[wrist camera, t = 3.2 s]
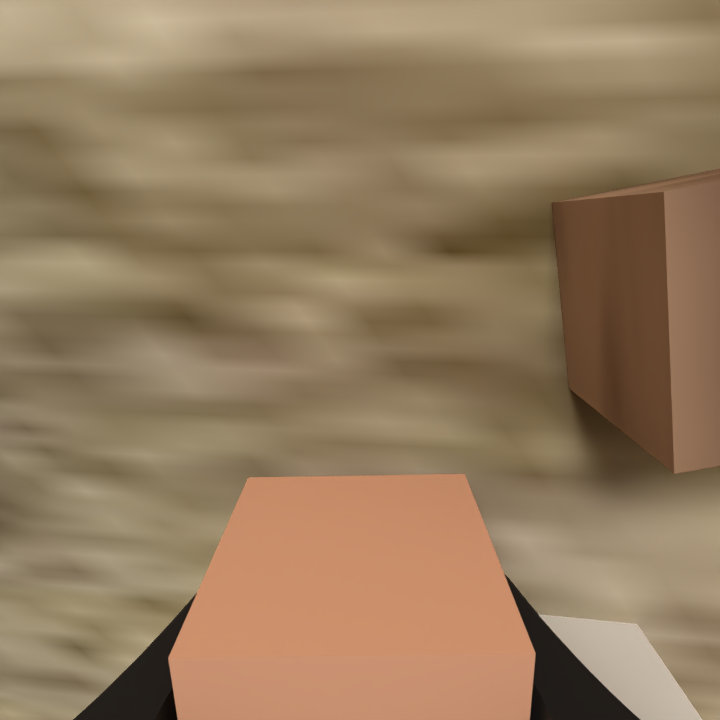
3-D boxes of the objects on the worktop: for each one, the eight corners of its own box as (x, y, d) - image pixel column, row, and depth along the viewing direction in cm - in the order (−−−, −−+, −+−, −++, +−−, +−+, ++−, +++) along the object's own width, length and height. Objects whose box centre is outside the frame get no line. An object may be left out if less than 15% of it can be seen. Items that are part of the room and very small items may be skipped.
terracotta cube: (464, 473, 12) (535, 653, 7) (457, 649, 13) (513, 902, 8) (248, 477, 12) (168, 658, 7) (263, 651, 13) (206, 904, 8)
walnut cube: (753, 161, 13) (997, 124, 8) (751, 353, 14) (960, 424, 9) (550, 202, 13) (664, 191, 8) (567, 386, 14) (674, 474, 9)
